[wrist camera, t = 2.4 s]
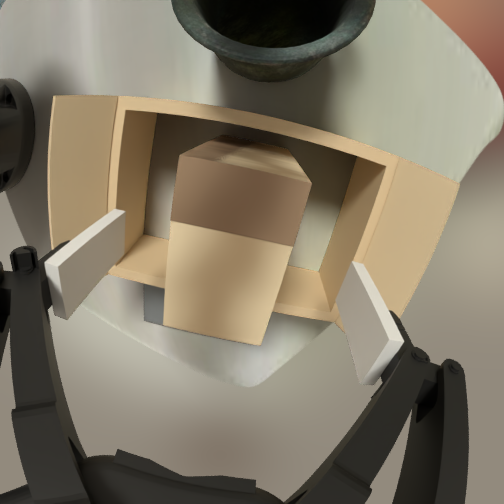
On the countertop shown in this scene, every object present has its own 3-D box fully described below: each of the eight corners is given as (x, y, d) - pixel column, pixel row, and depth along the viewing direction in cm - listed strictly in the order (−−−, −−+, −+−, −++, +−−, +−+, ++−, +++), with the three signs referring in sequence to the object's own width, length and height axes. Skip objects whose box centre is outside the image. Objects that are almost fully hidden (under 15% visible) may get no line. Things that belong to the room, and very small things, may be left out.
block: (204, 233, 29) (162, 325, 17) (222, 134, 25) (179, 155, 12) (262, 246, 30) (260, 346, 17) (287, 148, 25) (312, 183, 13)
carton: (113, 235, 30) (56, 293, 19) (125, 96, 23) (51, 95, 13) (346, 285, 31) (375, 360, 21) (394, 155, 25) (462, 185, 14)
